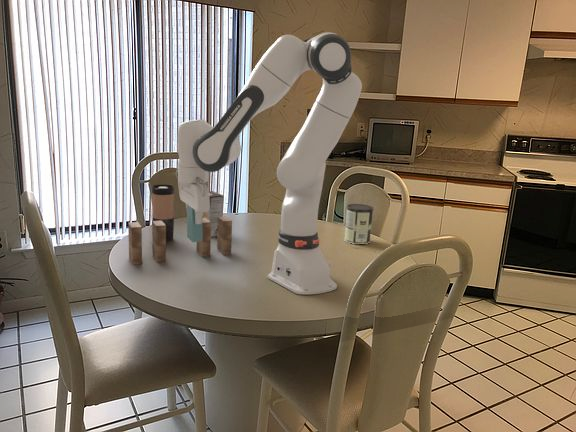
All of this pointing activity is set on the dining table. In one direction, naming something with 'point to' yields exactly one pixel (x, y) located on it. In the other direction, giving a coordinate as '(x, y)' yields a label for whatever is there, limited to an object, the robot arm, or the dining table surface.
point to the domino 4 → (224, 235)
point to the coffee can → (358, 224)
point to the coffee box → (214, 211)
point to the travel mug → (164, 207)
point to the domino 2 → (193, 226)
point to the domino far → (135, 242)
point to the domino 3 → (205, 239)
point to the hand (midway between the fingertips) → (194, 220)
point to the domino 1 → (159, 240)
